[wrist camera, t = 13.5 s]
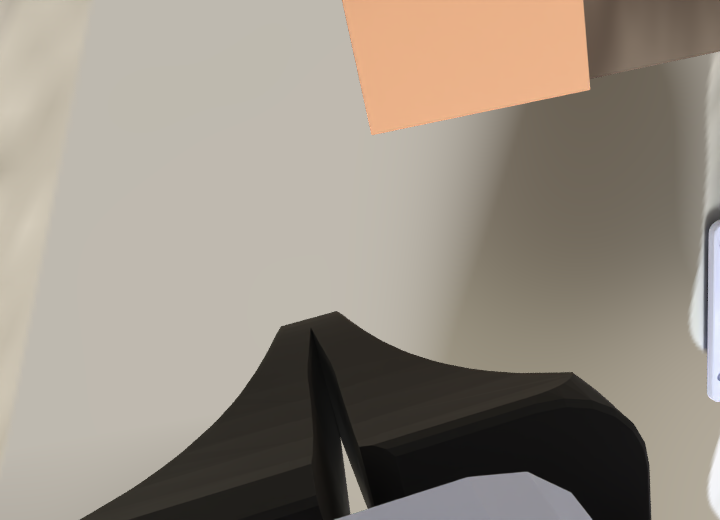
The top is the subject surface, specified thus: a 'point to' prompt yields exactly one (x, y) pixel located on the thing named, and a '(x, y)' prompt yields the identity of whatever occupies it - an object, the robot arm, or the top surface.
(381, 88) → the peach block
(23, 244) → the top surface
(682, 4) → the domino block
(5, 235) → the top surface
